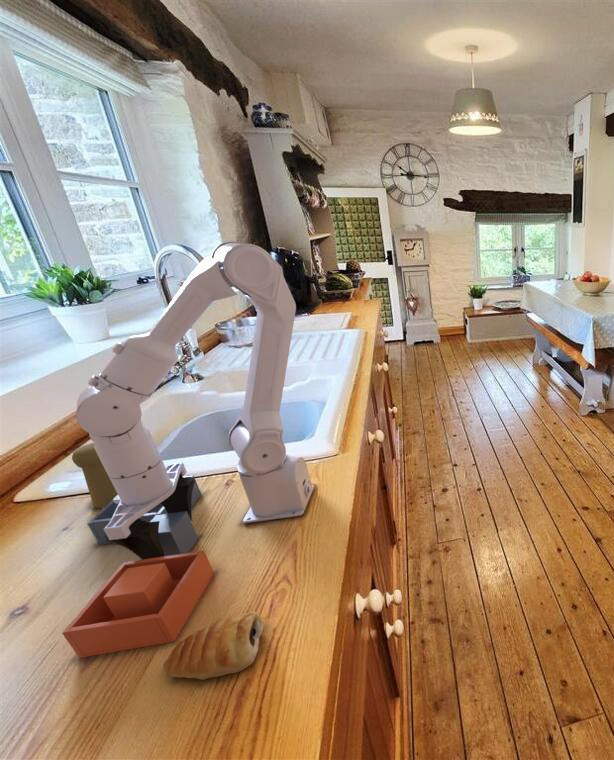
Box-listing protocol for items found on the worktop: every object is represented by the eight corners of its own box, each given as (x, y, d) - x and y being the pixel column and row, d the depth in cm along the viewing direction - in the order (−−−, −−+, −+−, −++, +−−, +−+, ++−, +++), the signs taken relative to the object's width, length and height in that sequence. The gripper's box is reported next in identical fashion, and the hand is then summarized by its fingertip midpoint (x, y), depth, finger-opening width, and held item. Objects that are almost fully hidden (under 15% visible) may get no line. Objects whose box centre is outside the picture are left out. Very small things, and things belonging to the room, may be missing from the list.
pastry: (158, 700, 44) (144, 677, 42) (182, 641, 50) (171, 620, 48) (256, 669, 46) (246, 646, 45) (268, 617, 52) (260, 595, 51)
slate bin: (201, 494, 75) (193, 475, 74) (169, 535, 66) (159, 513, 64) (140, 502, 74) (130, 482, 72) (99, 544, 65) (86, 523, 63)
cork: (144, 486, 78) (121, 437, 74) (113, 508, 73) (86, 456, 68) (116, 485, 79) (91, 436, 74) (83, 507, 73) (54, 455, 69)
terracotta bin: (214, 573, 59) (204, 550, 57) (174, 641, 50) (160, 616, 48) (135, 585, 57) (122, 562, 56) (78, 658, 48) (61, 633, 46)
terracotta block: (179, 592, 56) (164, 562, 53) (160, 622, 52) (143, 591, 49) (143, 598, 55) (127, 568, 53) (121, 628, 51) (102, 597, 49)
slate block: (198, 538, 65) (186, 511, 63) (183, 559, 61) (170, 531, 59) (168, 542, 65) (155, 515, 63) (151, 564, 61) (136, 536, 59)
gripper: (137, 442, 63) (169, 512, 68) (59, 504, 50) (106, 585, 55) (187, 437, 64) (215, 506, 69) (124, 496, 51) (164, 576, 56)
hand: (170, 540), depth 62 cm, fingers open, 7 cm apart
